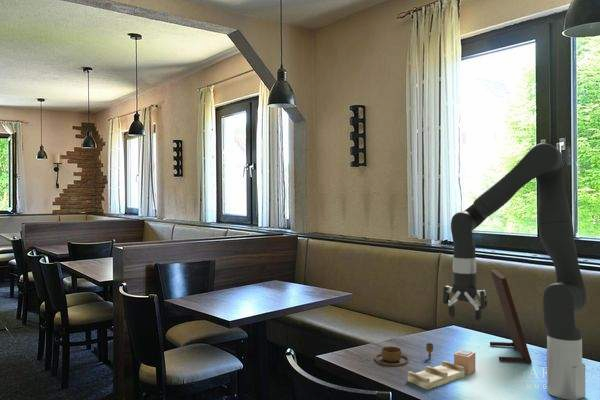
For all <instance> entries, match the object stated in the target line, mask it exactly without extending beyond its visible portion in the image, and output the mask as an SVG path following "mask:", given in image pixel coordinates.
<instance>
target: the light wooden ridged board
mask: <svg viewBox="0 0 600 400" xmlns="http://www.w3.org/2000/svg"><path fill="white" fill-rule="evenodd" d="M461 377H463V378H465V374H464V367H463V366H460V365H457V364H454V362H451V361H447V360H446V359H445V360H442V364H440V365H437V366H434V367H432V366H429V365H425V369H424V370H421V371H418V372H413V371H411V370H410V371H407V382H409V383H411V384H414V385H415V386H418V387H420V388H423V389H425V390H427V391H428V390H430V389H433V387H434V388H437V387H439V386H443V385H445V384H447V383H451V382H453V380H454V381H457V380H459V379H458V378H460V379H462V378H461ZM456 379H457V380H456ZM450 381H451V382H450ZM436 386H437V387H436Z"/></svg>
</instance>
